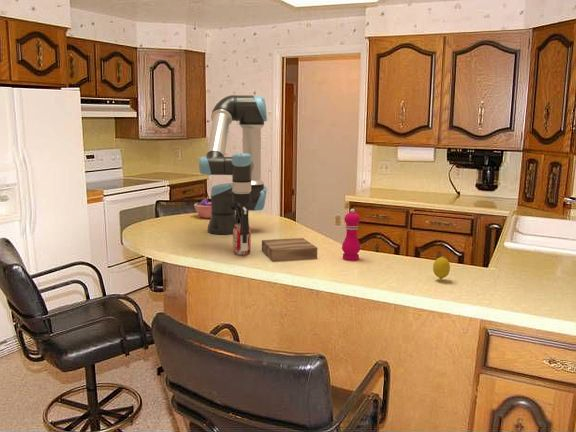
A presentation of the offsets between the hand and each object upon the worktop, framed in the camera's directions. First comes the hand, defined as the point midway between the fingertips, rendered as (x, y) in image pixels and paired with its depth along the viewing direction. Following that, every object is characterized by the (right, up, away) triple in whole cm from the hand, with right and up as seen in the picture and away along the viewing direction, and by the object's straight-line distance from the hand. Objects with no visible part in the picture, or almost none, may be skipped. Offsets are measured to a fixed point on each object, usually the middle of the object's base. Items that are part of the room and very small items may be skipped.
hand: (241, 248), depth 204 cm
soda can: (0, -2, 0) cm, 3 cm away
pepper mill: (+43, -4, -5) cm, 44 cm away
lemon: (+71, -9, -31) cm, 78 cm away
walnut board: (+19, -3, 0) cm, 19 cm away
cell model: (-24, +11, +78) cm, 82 cm away
